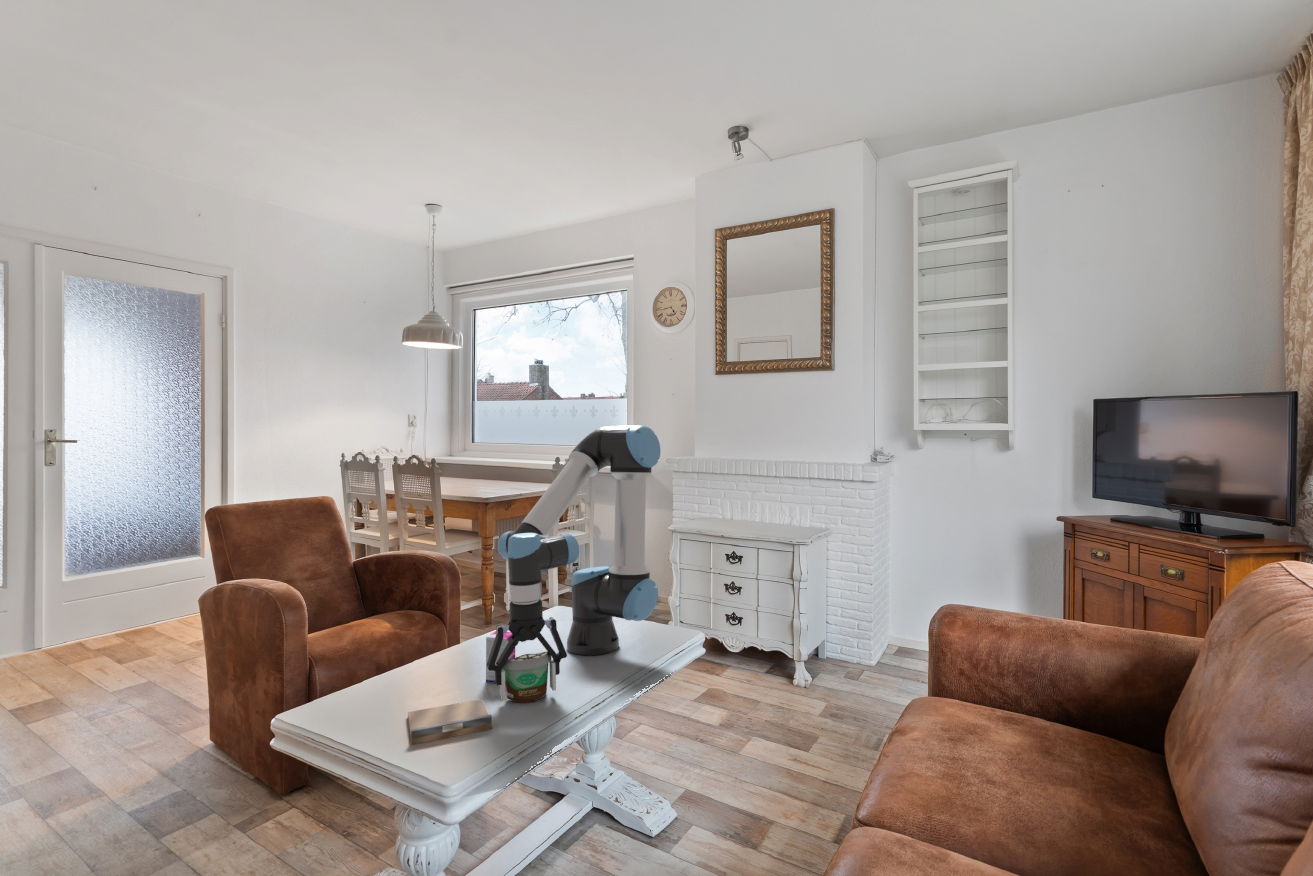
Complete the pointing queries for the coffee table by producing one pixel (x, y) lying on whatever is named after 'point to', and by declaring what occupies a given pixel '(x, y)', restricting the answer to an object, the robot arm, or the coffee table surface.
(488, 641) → the supplement box
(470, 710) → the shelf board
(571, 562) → the robot arm
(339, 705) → the coffee table surface
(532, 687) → the food container
